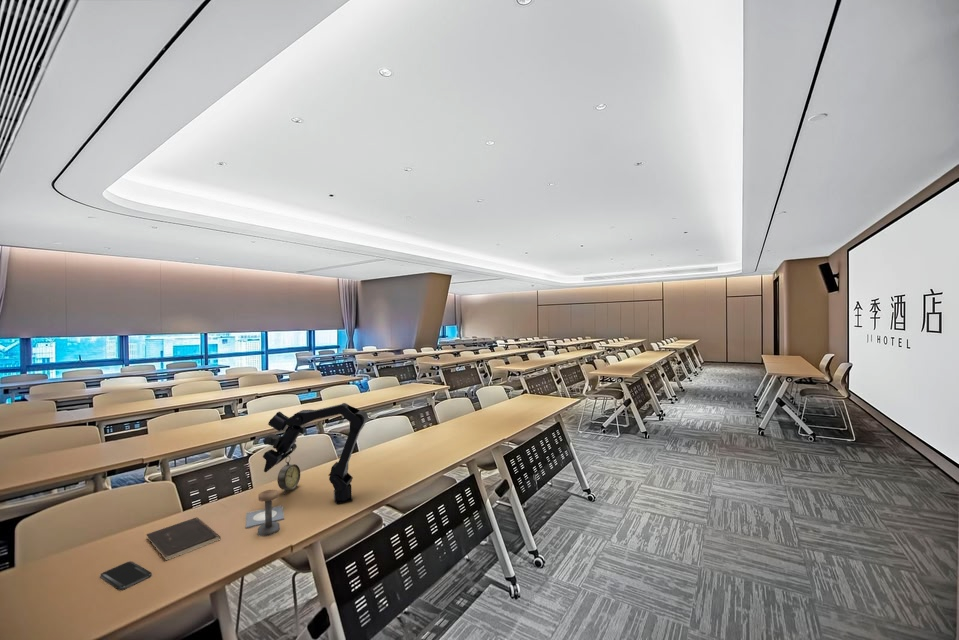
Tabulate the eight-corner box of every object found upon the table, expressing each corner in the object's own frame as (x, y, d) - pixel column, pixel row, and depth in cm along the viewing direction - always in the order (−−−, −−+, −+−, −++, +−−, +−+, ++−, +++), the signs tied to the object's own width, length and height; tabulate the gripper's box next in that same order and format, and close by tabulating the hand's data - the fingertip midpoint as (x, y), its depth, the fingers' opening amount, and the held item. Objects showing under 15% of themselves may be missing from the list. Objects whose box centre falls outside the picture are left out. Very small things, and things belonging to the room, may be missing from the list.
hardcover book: (165, 563, 129) (165, 556, 129) (146, 540, 144) (146, 534, 144) (220, 541, 142) (220, 534, 142) (198, 522, 156) (198, 516, 156)
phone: (121, 588, 115) (99, 573, 122) (121, 592, 115) (99, 577, 122) (153, 573, 122) (131, 560, 129) (153, 577, 122) (131, 563, 129)
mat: (282, 506, 167) (282, 505, 167) (284, 519, 156) (284, 517, 156) (246, 514, 161) (246, 512, 161) (245, 528, 149) (245, 526, 149)
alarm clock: (285, 496, 177) (285, 460, 177) (275, 495, 178) (274, 459, 179) (301, 486, 188) (300, 452, 188) (291, 485, 189) (290, 451, 189)
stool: (279, 524, 152) (278, 487, 152) (280, 532, 146) (279, 494, 146) (257, 529, 149) (257, 492, 149) (257, 538, 143) (257, 499, 143)
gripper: (283, 421, 181) (265, 451, 181) (262, 433, 163) (241, 465, 162) (304, 434, 181) (286, 463, 181) (285, 447, 163) (265, 480, 162)
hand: (270, 467), depth 172 cm, fingers open, 9 cm apart
